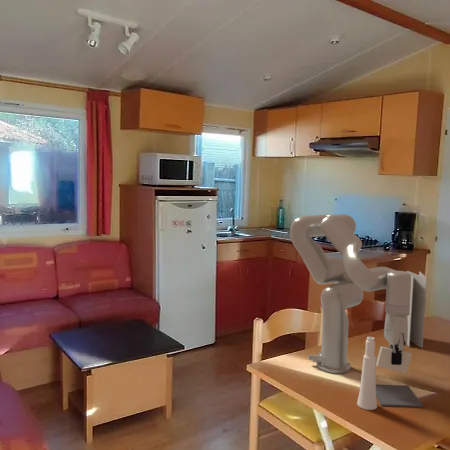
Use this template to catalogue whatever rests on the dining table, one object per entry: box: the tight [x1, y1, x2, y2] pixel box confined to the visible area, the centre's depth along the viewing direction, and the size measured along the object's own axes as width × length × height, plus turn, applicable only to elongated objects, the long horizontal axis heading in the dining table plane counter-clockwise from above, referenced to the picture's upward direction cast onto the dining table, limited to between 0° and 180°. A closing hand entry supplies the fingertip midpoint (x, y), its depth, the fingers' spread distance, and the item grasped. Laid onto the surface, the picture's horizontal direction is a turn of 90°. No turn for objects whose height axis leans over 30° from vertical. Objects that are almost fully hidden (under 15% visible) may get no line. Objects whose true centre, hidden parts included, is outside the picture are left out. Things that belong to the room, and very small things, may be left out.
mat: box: [376, 383, 425, 408], centre depth 152 cm, size 13×14×1 cm
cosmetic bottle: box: [356, 336, 378, 411], centre depth 144 cm, size 6×6×22 cm
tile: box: [376, 345, 413, 374], centre depth 154 cm, size 10×2×6 cm, turn 88°
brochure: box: [406, 270, 428, 349], centre depth 201 cm, size 14×6×30 cm, turn 168°
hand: (395, 362), depth 154 cm, fingers closed on tile, 1 cm apart
